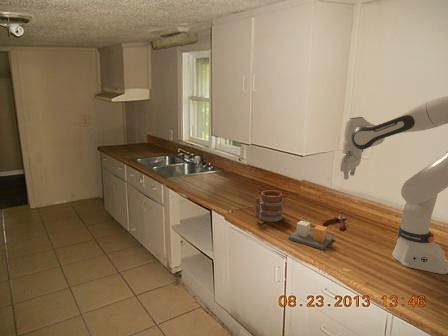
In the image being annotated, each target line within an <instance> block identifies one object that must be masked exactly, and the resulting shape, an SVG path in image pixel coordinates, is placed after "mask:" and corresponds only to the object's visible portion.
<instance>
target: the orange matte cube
mask: <svg viewBox="0 0 448 336" xmlns="http://www.w3.org/2000/svg"><path fill="white" fill-rule="evenodd" d="M312 231H313V240H317V241H320V242H323V241H324V240H325V239H326V237H327V235H328V234H327V233H328V227H327V226H323V225H320V224H317V225H316V226H315V227H313V230H312Z"/></svg>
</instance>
